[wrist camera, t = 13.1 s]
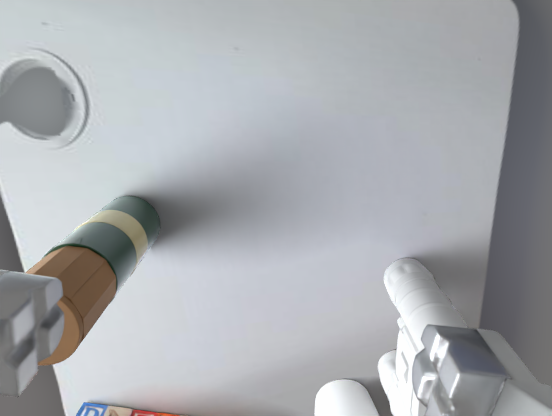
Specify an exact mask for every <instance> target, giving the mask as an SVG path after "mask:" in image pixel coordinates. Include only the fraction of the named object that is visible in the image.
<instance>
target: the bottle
mask: <svg viewBox="0 0 552 416" xmlns="http://www.w3.org/2000/svg"><path fill="white" fill-rule="evenodd" d="M159 232H160V220H159V216H158V214H157V212H156V211H155V209H154V208H153V207H152V206H151V205H150V204H149V203H148V202H146V201H145V200H143V199H141V198H138V197H134V196H122V197H119V198H116V199H114V200H113V201H111V202H110V203H109V204H107V205H106V206H105V207H104V208H102V209H101V210H100V211H99V212H97V213H96V214H94V215H93V216H91V217H90V218H89V219H87V220H86V221H85V222H84V223H82V224H81V225H80V226H79V227H77V228H76V229H75V230H74V231H73V232H72V233H71V234H69V235H68V236H67V237H66V238H64V239H63V240H62V241H61V242H59V243H58V244H57V245H56V246H54V247H53V248H52V249H50V250H49V251H48V252H47V253H46V254H45V255H44V257H45V256H47V255H48V254H49V253H51V252H53V251H56V250H58V249H61V248H63V247H65V246H72V247H81V248H88V249H90V250H91V251H93V252H94V253H96V254H98V255H99V256H101V257H102V258H104V259H105V260H106V261H107V262H108V264H109V266H110V267H111V269H112V271H113V272H114V274H115V275H116V295H117V293H118V292H119V290H120V289H121V288H122V286H123V285H124V283H125V282H126V281H127V279H128V278H129V277H130V276H131V274H132V273H133V272H134V270H135V269H136V268H137V266H138V265H139V263H140V262H141V261H142V259H143V258H144V256H145V254H146V253H147V251H148V250H149V249H150V247H151V246H152V244H153V243H154V242H155V240H156V239H157V237H158V235H159ZM44 257H43V258H44ZM43 258H42V259H43ZM116 295H115V296H116ZM115 296H114V297H115ZM113 299H114V298H113ZM113 299H112V300H113ZM112 300H111V301H112ZM109 304H110V303H109Z"/></svg>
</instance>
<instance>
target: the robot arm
mask: <svg viewBox="0 0 552 416" xmlns="http://www.w3.org/2000/svg"><path fill="white" fill-rule="evenodd" d="M62 296H63V290H62V282H61V281H60V280H59V279H58V278H55V277H48V276H41V275H34V274H27V273H20V272H10V271H6V270H0V395H2V396H13V397H19V395H20V394H21V393H22V392H23V391H24V389H25V388H26V387H27V386H28V384H29V383H30V382H31V380H32V379H33V378H34V377H35V375H36V374H37V373H38V362H40V361H42V360H44V359H46V358H48V357H50V356H51V355H52V353H53V352H54V351H55V349H56V348H57V347H58V344H59V342H60V339H61V337H62V334H63V330H64V323H65V322H64V312H63V311H62V310H61V308H60V307H59V306H58V305H57V302H58V301H59V300H60V299H61V298H62ZM421 341H422V343H423V345H424V347H425V348H424V349H423V350H421V351H420V352H419V353H418V354H416V355H415V359H414V363H413V366H412V384H413V389H414V392H415V395H416V397H417V400H419V401H420V402H421V403H422V404H423V405H424V406H425V407H426V408H427V409H426V412H425V415H424V416H552V387H551V386H550V385H548V384H542V383H539V381H538V380H537V379H536V378H535V376H534V375H533V374H532V373H531V371H530V370H529V369H528V368H527V366H526V365H525V364H524V363H523V361H522V360H521V359H520V358H519V356H518V355H517V354H516V353H515V351H514V350H513V349H512V348H511V346H510V345H509V344H508V343H507V341H506V340H505V339H504V338H503V336H502V335H501V334H500V333H498V332H497V331H495V330H486V329H474V328H472V329H471V328H461V327H451V326H441V325H432V324H427V326H426V327H425V329H424V330H423V333H422V336H421Z"/></svg>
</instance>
